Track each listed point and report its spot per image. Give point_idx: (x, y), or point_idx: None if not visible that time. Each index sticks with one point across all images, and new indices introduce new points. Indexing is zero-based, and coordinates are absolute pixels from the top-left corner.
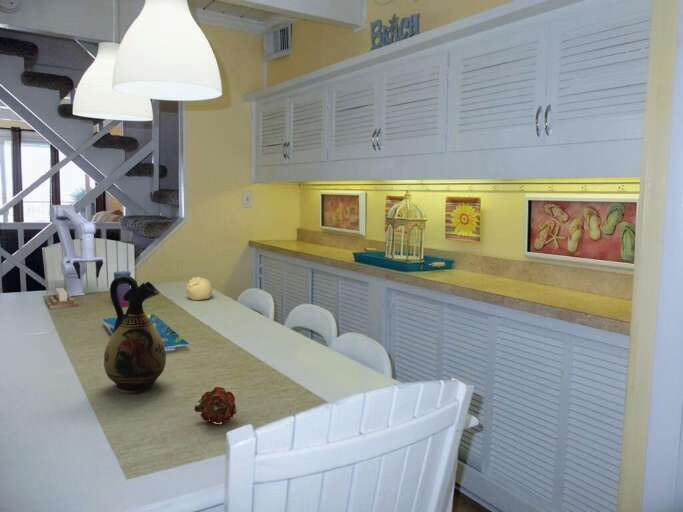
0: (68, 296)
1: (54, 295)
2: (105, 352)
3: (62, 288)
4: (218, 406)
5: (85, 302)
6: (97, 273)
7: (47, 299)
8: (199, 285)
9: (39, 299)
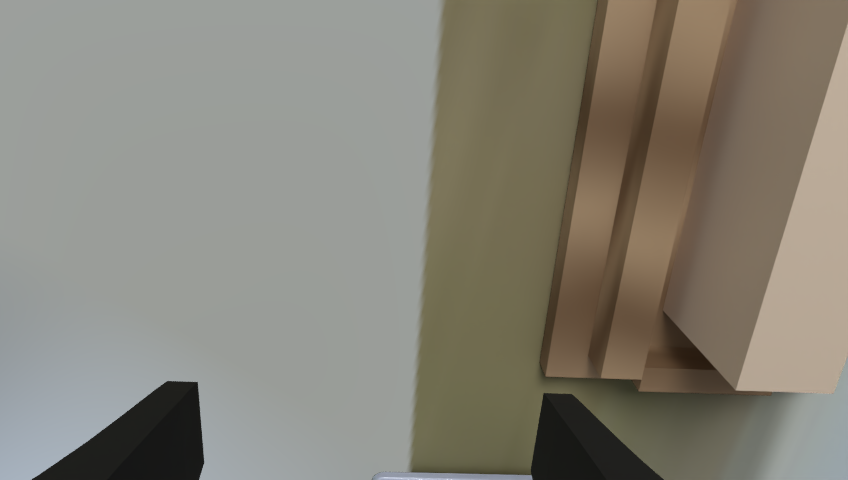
0: (659, 222)
1: None
2: None
3: (767, 331)
4: None
5: (471, 66)
6: (146, 431)
7: None
8: None
9: (805, 463)
